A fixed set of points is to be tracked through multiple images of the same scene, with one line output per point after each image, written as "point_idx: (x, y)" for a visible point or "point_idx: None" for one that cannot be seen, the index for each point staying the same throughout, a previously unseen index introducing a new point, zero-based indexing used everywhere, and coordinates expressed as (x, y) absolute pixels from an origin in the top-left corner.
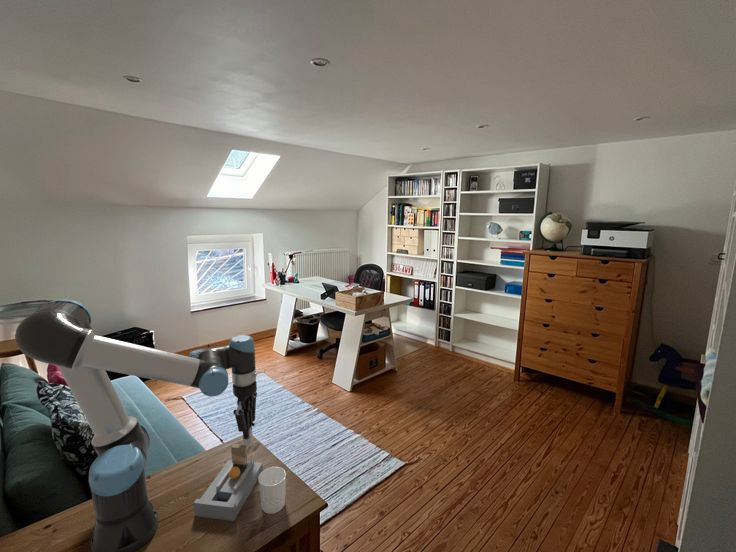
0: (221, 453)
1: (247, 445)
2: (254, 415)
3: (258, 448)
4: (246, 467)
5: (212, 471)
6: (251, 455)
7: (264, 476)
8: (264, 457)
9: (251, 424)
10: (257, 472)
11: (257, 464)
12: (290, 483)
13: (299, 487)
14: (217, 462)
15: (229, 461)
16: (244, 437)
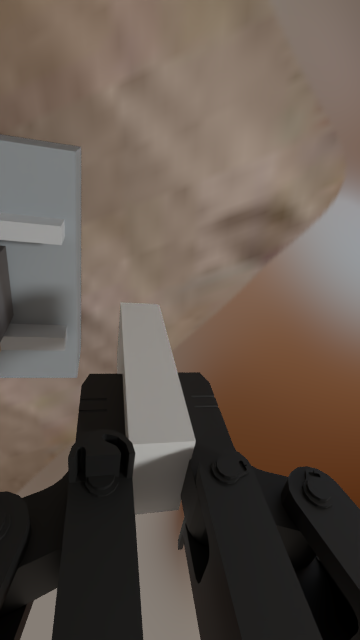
0: (232, 4)
1: (118, 337)
2: (323, 618)
3: (254, 270)
4: (12, 316)
5: (14, 2)
6: (197, 252)
7: None
8: (179, 323)
9: (187, 542)
10: (4, 373)
11: (60, 359)
12: (27, 459)
13: (15, 486)
14: (124, 9)
15: (54, 165)
16: (81, 402)
